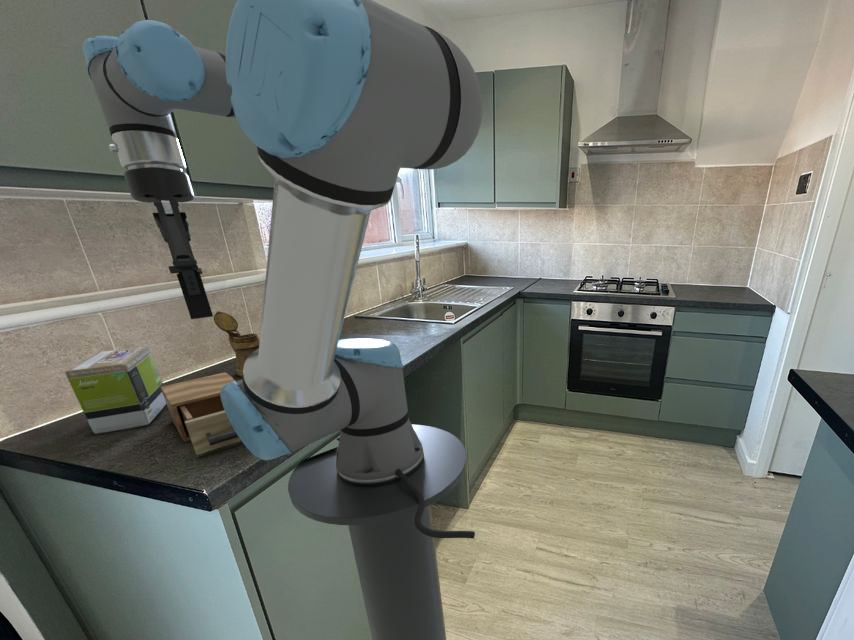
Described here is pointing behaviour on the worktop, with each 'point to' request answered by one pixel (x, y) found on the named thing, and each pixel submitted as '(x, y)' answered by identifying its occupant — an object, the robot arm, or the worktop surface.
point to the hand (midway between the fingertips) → (201, 315)
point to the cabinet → (192, 396)
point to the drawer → (208, 425)
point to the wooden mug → (237, 339)
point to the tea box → (118, 389)
